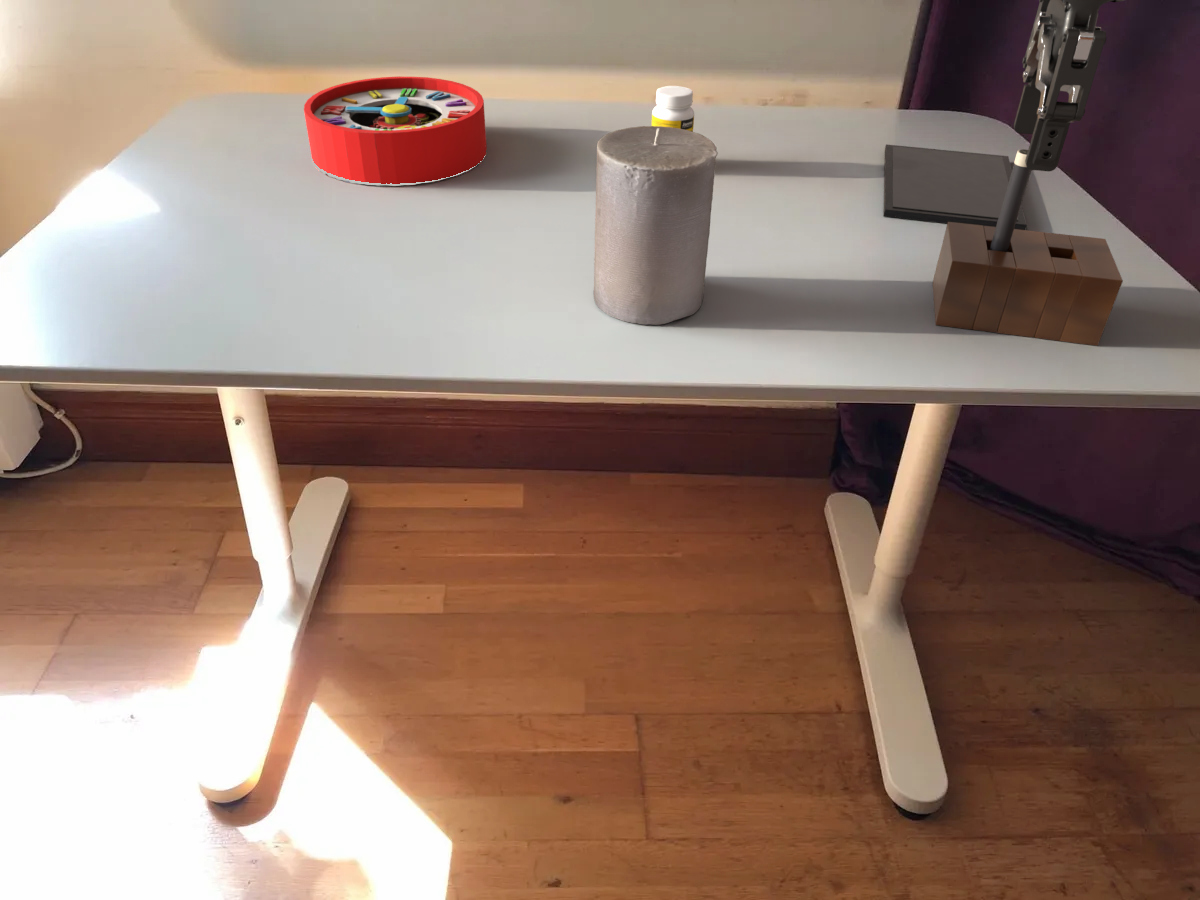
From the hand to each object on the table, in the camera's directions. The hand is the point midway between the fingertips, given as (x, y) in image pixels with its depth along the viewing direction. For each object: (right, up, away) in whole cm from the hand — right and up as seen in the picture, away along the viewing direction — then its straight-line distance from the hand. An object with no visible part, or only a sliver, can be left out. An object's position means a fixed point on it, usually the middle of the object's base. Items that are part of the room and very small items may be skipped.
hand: (1032, 149), depth 76 cm
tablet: (+4, +5, +30) cm, 30 cm away
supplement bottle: (-26, +9, +34) cm, 44 cm away
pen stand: (+1, -12, +7) cm, 14 cm away
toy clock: (-58, +11, +36) cm, 69 cm away
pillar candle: (-30, -11, +8) cm, 33 cm away
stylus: (-1, -12, +8) cm, 14 cm away
